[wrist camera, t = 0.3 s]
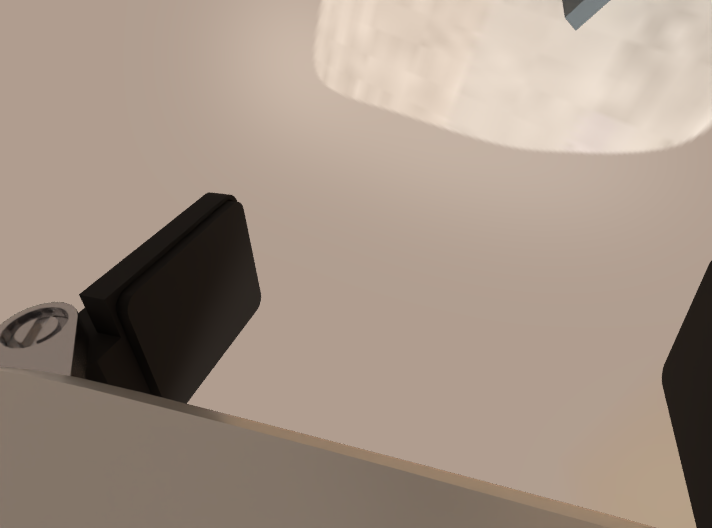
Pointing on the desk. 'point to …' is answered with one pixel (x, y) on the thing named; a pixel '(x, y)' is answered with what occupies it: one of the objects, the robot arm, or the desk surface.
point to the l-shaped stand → (581, 10)
